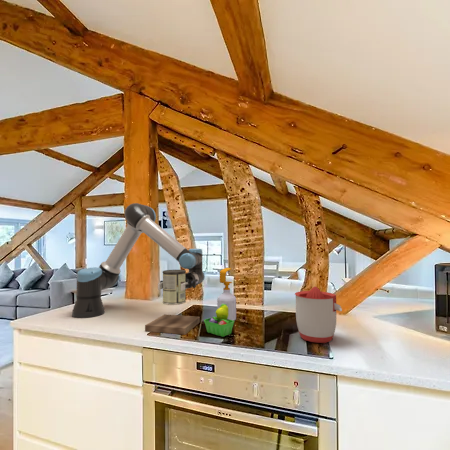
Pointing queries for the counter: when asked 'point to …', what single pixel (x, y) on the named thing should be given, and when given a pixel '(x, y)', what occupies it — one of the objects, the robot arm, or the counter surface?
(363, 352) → the counter surface
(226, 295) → the soap bottle
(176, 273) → the coffee can
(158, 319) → the walnut trivet board
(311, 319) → the citrus juicer
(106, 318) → the counter surface
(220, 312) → the fruit basket
